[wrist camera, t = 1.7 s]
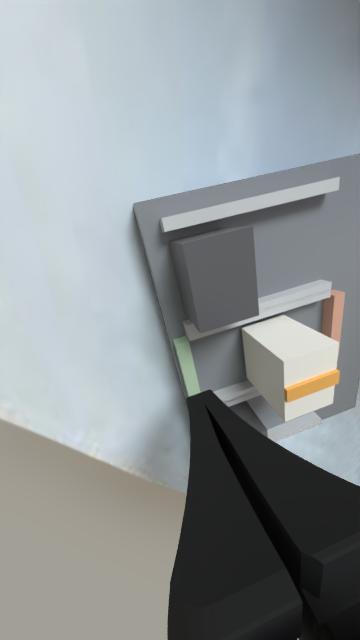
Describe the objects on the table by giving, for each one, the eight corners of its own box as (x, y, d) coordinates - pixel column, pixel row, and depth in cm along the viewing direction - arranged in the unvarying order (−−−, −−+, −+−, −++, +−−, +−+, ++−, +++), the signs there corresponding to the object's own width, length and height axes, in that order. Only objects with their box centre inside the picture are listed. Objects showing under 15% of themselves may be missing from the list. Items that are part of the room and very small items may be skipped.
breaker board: (374, 152, 13) (477, 118, 9) (343, 397, 21) (391, 433, 17) (132, 206, 11) (136, 191, 7) (200, 453, 19) (218, 507, 15)
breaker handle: (283, 314, 14) (343, 344, 10) (284, 364, 16) (336, 406, 12) (241, 327, 14) (286, 364, 10) (246, 377, 15) (287, 425, 11)
